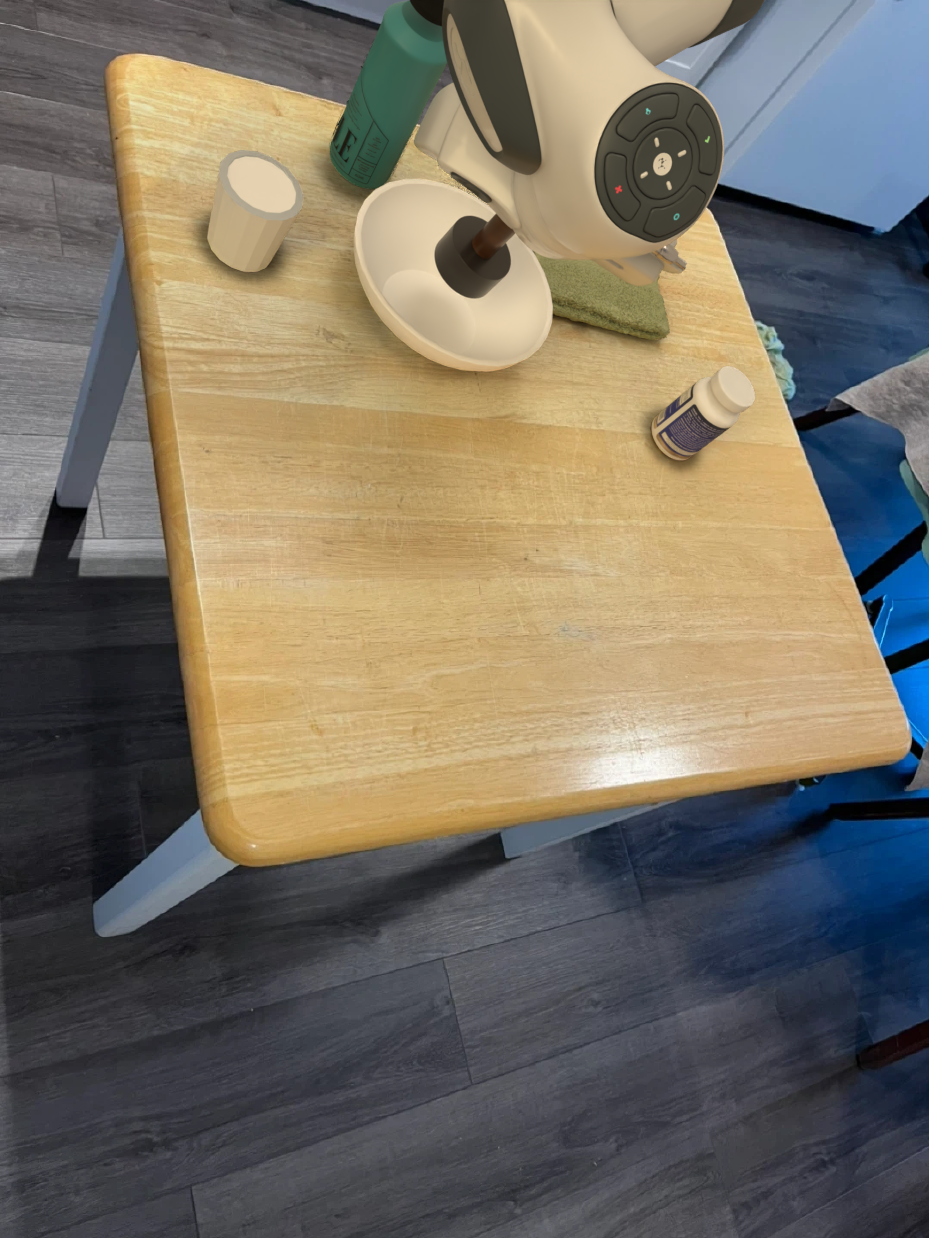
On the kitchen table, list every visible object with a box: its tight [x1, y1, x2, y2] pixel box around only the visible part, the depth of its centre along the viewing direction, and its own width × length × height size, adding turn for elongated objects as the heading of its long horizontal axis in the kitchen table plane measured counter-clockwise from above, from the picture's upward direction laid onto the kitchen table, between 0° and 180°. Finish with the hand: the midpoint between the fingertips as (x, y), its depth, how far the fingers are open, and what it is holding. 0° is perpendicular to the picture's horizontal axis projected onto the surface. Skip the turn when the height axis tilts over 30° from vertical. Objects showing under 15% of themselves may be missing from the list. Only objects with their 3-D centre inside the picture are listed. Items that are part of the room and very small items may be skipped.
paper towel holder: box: [434, 214, 515, 299], centre depth 70 cm, size 6×6×18 cm
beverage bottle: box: [328, 0, 448, 190], centre depth 77 cm, size 6×7×20 cm
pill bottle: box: [651, 365, 756, 461], centre depth 89 cm, size 6×6×10 cm
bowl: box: [353, 178, 553, 373], centre depth 80 cm, size 20×20×7 cm
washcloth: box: [533, 251, 671, 341], centre depth 95 cm, size 13×18×3 cm
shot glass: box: [206, 149, 305, 273], centre depth 73 cm, size 7×7×7 cm
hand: (523, 201), depth 71 cm, fingers closed on paper towel holder, 2 cm apart
